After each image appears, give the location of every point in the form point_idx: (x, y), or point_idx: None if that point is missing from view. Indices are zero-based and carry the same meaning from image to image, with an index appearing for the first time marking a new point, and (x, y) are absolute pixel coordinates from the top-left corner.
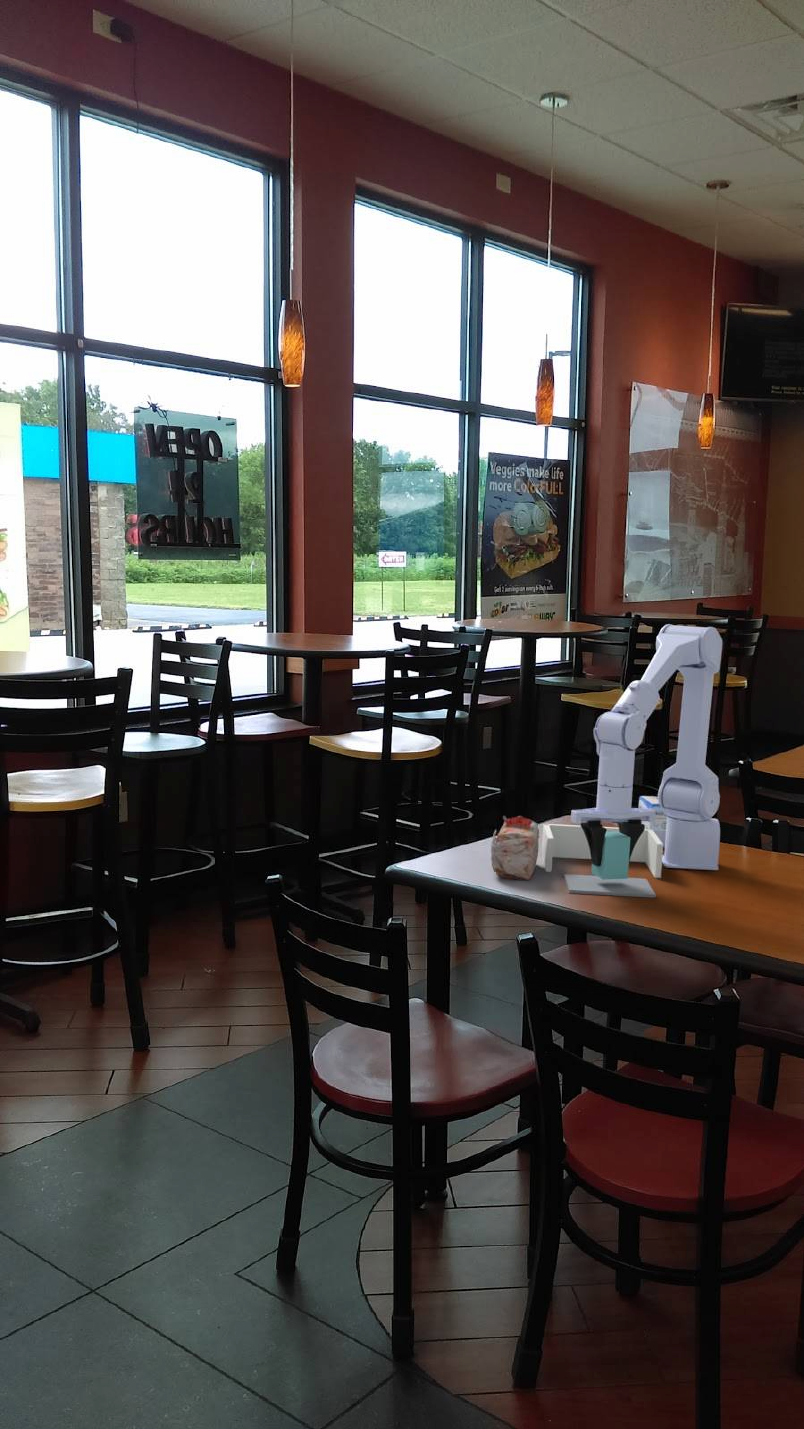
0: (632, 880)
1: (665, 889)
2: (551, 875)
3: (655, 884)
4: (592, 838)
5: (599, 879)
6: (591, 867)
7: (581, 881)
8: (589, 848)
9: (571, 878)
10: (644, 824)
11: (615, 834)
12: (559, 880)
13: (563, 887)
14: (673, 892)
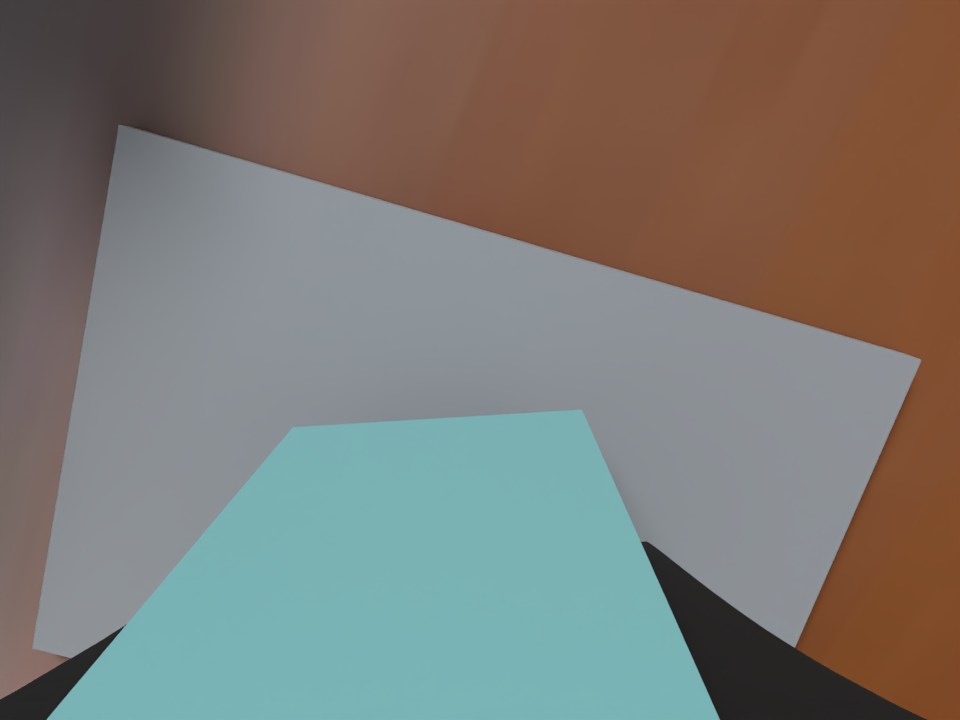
0: (746, 407)
1: (936, 597)
2: (14, 46)
3: (941, 445)
4: None
5: (425, 353)
6: (275, 449)
7: (219, 409)
8: (81, 659)
9: (149, 297)
10: None
11: None
12: (55, 245)
13: (39, 475)
14: (951, 680)
